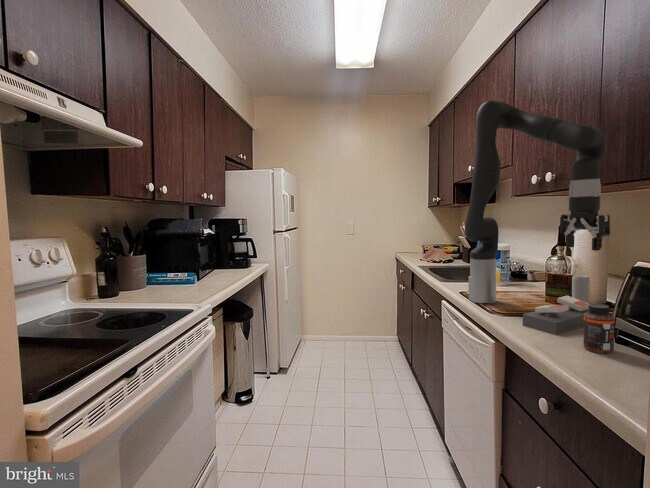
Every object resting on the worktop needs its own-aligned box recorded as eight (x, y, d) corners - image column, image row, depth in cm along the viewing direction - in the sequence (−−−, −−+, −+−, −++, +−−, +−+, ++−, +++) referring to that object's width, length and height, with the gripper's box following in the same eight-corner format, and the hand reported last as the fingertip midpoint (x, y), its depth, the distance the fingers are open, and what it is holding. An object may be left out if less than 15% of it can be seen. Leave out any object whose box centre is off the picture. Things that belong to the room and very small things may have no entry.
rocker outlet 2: (556, 301, 109) (557, 297, 109) (566, 299, 111) (567, 295, 111) (580, 311, 103) (581, 306, 103) (589, 308, 105) (590, 304, 105)
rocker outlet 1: (535, 312, 105) (534, 307, 105) (545, 309, 107) (544, 304, 107) (558, 312, 98) (557, 307, 99) (569, 309, 100) (567, 304, 101)
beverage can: (573, 311, 116) (573, 277, 115) (570, 308, 120) (570, 274, 119) (590, 312, 113) (591, 277, 112) (587, 309, 118) (587, 274, 117)
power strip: (522, 325, 105) (522, 311, 105) (566, 313, 114) (566, 300, 114) (555, 334, 96) (555, 319, 96) (600, 321, 105) (600, 307, 105)
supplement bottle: (616, 356, 81) (616, 309, 80) (584, 352, 84) (585, 307, 83) (611, 347, 86) (612, 303, 85) (582, 343, 89) (582, 301, 88)
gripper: (553, 196, 108) (552, 247, 110) (596, 194, 94) (594, 252, 96) (573, 195, 109) (572, 245, 111) (619, 193, 95) (616, 250, 97)
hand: (582, 248), depth 103 cm, fingers open, 8 cm apart
